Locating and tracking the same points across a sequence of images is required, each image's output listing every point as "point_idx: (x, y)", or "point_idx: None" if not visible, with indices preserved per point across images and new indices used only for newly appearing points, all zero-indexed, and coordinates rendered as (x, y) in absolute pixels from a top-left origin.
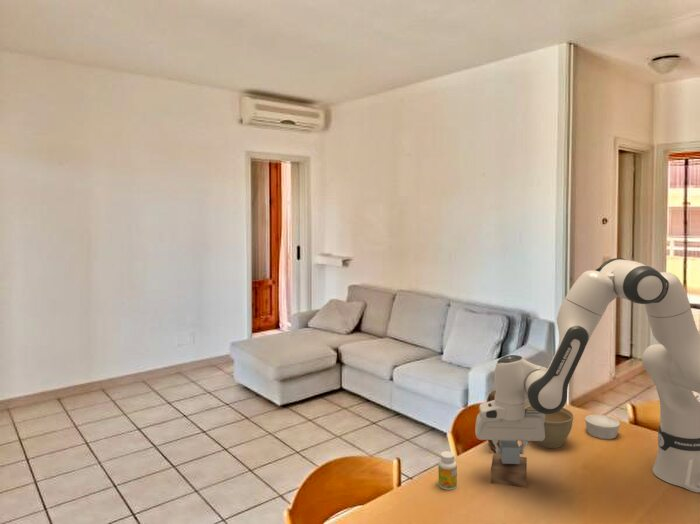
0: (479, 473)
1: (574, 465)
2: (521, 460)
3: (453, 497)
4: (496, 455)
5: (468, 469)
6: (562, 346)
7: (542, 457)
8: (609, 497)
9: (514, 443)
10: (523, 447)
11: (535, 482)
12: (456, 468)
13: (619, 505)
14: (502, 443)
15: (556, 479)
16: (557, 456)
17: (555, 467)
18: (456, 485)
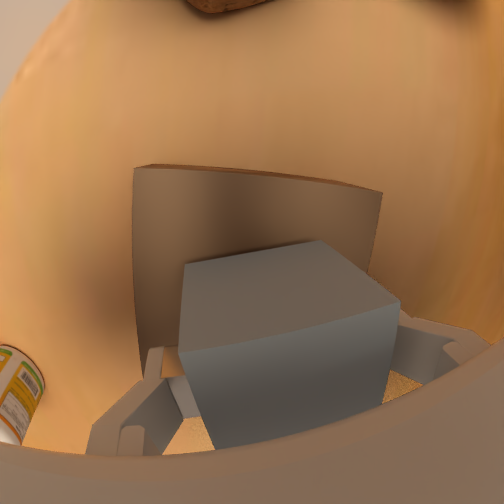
0: (86, 257)
1: (487, 113)
2: (343, 248)
3: (63, 424)
4: (159, 207)
5: (35, 229)
6: None
7: (409, 36)
8: (493, 296)
9: (359, 379)
10: (410, 371)
11: None
12: (20, 433)
13: (490, 323)
14: (221, 420)
15: (431, 229)
16: (451, 39)
17: (445, 126)
18: (42, 384)
